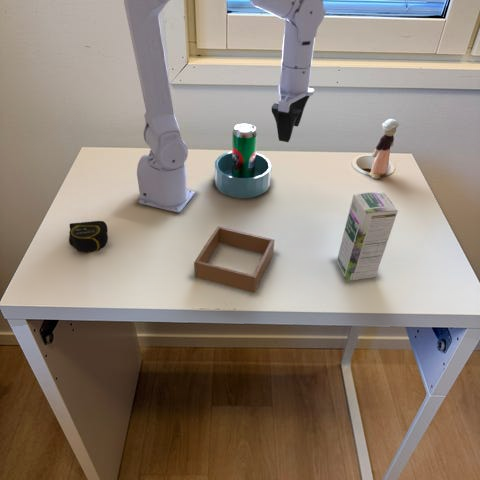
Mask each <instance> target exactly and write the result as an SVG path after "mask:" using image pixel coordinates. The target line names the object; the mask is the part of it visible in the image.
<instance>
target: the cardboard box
mask: <svg viewBox="0 0 480 480" xmlns="http://www.w3.org/2000/svg"><path fill="white" fill-rule="evenodd" d="M275 241H276V240H275V239H273V238H269V237H266V236H261V235H257V234H254V233H253V234H252V233H249V232H245V231H240V230H236V229H232V228H227V227H223V226H219V225H217V226H216V228H215V229H214V231H213V232H212V234H211V235H210V237H209V238H208V240H207V242H206V243H205V245H204V246H203V248H202V249H201V251H200V253H199V254H198V255H197V257H196V259H195V260H194V261H193V268H194V269H193V271H194V278H196V279H200V280H203V281H207V282H211V283H215V284H219V285H223V286H226V287H230V288H234V289H239V290H242V291H245V292H250V293H253V294H255V293H256V291H257V289H258V287H259V285H260V283H261V281H262V279H263V277H264V274H265V273H266V270H267V268H268V266H269V264H270V262H271V260H272V258H273V256H274V250H275ZM220 244H221V245H225V246H230V247H234V248H238V249H241V250H245V251H250V252H253V253H257V254H261V255H262V258H261V259H260V261H259V263H258V265H257V268H256V270H255V271H254V273H253V274H251V273H246V272H244V271H238V270H236V269H231V268H227V267H223V266H219V265H216V264H211V263H208V262H209V261H210V259H211V258H212V256H213V255H214V253H215V251H216V249H217V248H218V246H219V245H220Z"/></svg>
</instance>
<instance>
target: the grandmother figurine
mask: <svg viewBox="0 0 480 480" xmlns="http://www.w3.org/2000/svg"><path fill="white" fill-rule="evenodd" d="M399 124H400V123H399V122H398V120H396V119H394V118H388V119H387V120H385V121H384V122H383V123H382V125H381V126H382V130H383V135H382V136H381V137H380V139H379V142H378V144H377V145H376V147H375V149H374V151H373V153H372V155H371V157H372V158H374V160H373V162H372V166H371V169H370V172H369V173H368V176H369V177H371V178H373V179H375V180H377V179H380V178H381V176H383V175H385V174H386V173H388V170H389V163H390V153H391V148H392V147H393V146H394V141H395V136H394V135H395V134H396V132H397V128H398V127H399Z"/></svg>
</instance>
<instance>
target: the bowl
mask: <svg viewBox="0 0 480 480" xmlns="http://www.w3.org/2000/svg"><path fill="white" fill-rule="evenodd" d="M271 176H272V163H271V161H270V160H269V158H267V157H266V156H265V155H263V154H261V153H258V152H256V160H255V177H252V178H237V177H232V151H227V152H226V153H223V154H221V155H220V156H218V157H217V158H216V159H215V161H214V185H215V187H216V190H218V191H219V192H221V194H223V195H226V196H229V197H232V198H237V199H251V198H255V197H259V196H261V195H263V194H265V193H266V192H267V191H268V190H269V189H270V185H271V178H272V177H271Z"/></svg>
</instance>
